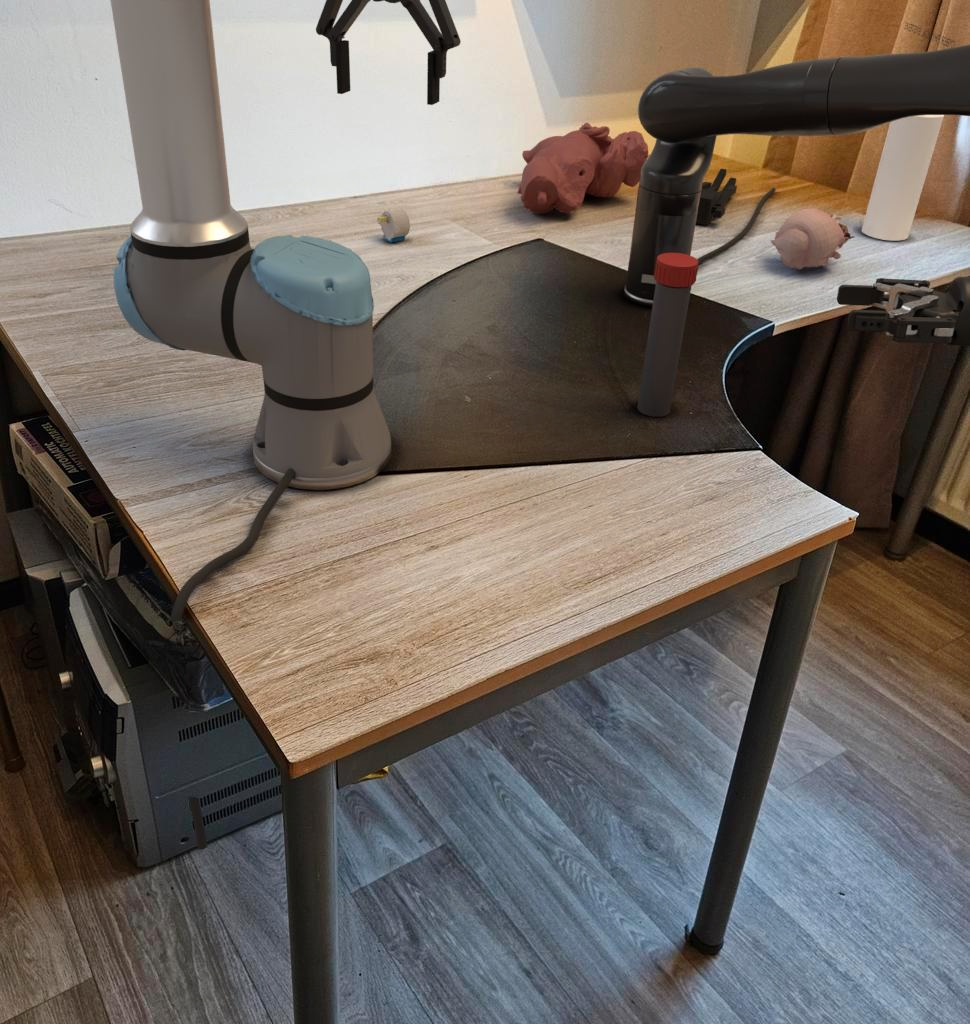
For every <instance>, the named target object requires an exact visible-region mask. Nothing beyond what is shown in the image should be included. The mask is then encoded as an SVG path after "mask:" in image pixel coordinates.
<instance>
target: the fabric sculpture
mask: <svg viewBox="0 0 970 1024" xmlns="http://www.w3.org/2000/svg"><path fill="white" fill-rule="evenodd" d="M610 130H611V129H610V127H608V126H607V125H605V126H604V125H602V126H600V127H598V126H592V125H591V124H590V123H589V122H585V123H584V124H581V126H580V127H579V129H576V130H573V131H570V132H568V133H566V134H565V135H554V136H549V137H546V138H544V139H542V140H540V141H539V142H538V143H536V145H535V146H534V147H532V148H531V149H529V150H523V151H522V153H521V156H522V158H523V160H524V162H525V163H526V164H525V166H524V168H523V170H522V172H521V173H522V174H521V180H520V181H521V182H520V185H519V186H518V189H517V194H518V195H520V200H521V202H522V203H523V207H524V209H525V210H529V211H530V212H532V213H535V214H546V213H549V212H551V211H552V210H553V209H554V208H555V209H556V210H557V211H559V212H560V213H564V214H569V213H573V212H575V211H578V209H579V208H581V206H582V203H584V199H585V195H591V196H593V197H596V198H599V197H604V198H606V197H608V198H610V197H613V196H614V195H617V194H618V192H619V191H620V189H621V186H622V184H624V185H625V186H627V187H631V188H635V187H636V186H637V185H639V180H640V173H641V168H642V166H643V164H644V163H645V161H646V160H647V159H648V157H649V146H648V143H647V142H646V141H645V139H644V135H643V134H642V132H638V131H636V130H631V131H628V132H627V131H624V132H621V133H618V135H617V136H615V137H614V138H612V137H611V136H610V135H609V134H610Z"/></svg>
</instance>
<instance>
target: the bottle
mask: <svg viewBox="0 0 970 1024" xmlns="http://www.w3.org/2000/svg"><path fill="white" fill-rule="evenodd" d="M692 287H693V285H691V286H688V287H671V286H666V285H663V284H660V283H658V282H657V281H656V287H655V293H654V300H653V307H651V314H650V320H649V328H648V333H647V341H646V348H645V353H644V359H643V366H642V367H643V368H642V374H641V381H640V387H639V394H638V400H637V406H636V407H637V410H638V412H640V413H641V414H642V415H644V416H648V417H654V418H661V417H666V416H667V415H669V414H670V412H671V408H672V403H673V402H672V401H673V397H674V390H675V384H676V379H677V374H678V373H677V372H678V369H679V362H680V355H681V349H682V344H683V338H684V332H685V327H686V320H687V314H688V310H689V302H690V297H691V291H692Z"/></svg>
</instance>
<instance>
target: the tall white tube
mask: <svg viewBox="0 0 970 1024" xmlns="http://www.w3.org/2000/svg"><path fill="white" fill-rule="evenodd" d="M904 30H905V31H907V32H910V33H912V32H913V34H915V33H916V34H917V35H918V36H921V37H923V38H924V37H925V39H928V40H930V41H931V40H932V41H933V42H937V40H938V44H939V43H940V44H942V45H943V46H946V47H947V48H948V47H949V48H953V46H955V45H956V40H954V39H951V38H948V37H946V36H942V37H941V34H938V35H937V33H934V32H933V31H931V30H926V29H923V34H921V31H922V27H920V26H918V25H915V24H912V23H909V22H908V21H907V22H905V26H904ZM927 33H928V35H927ZM940 37H941V38H940ZM940 39H941V42H940ZM945 39H946V40H945ZM944 42H945V43H944ZM952 43H954V44H953V46H952ZM944 117H945V115H920V116H912V117H907V118H902V119H899V120H896V121H893V122H890V123H889V126H888V129H887V133H886V137H885V140H884V145H883V148H882V151H881V155H880V159H879V163H878V166H877V170H876V174H875V177H874V182H873V185H872V189H871V193H870V196H869V201H868V203H867V208H866V212H865V215H864V220H863V222H862V227H861V232H862V233H863V234H864V235H866V236H868V237H871V238H873V239H878V240H884V241H893V242H895V241H897V242H898V241H899V242H900V241H905V240H907V239H909V236H910V233H911V229H912V226H913V222H914V219H915V215H916V211H917V210H918V209H917V208H918V206H919V202H920V198H921V195H922V191H923V188H924V184H925V182H926V178H927V175H928V171H929V169H930V165H931V161H932V158H933V155H934V151H935V148H936V145H937V142H938V141H937V140H938V138H939V134H940V130H941V127H942V124H943V121H944Z"/></svg>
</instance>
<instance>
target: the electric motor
mask: <svg viewBox="0 0 970 1024" xmlns="http://www.w3.org/2000/svg"><path fill="white" fill-rule="evenodd" d="M376 222H377V224H378V225H380V227H381V231H382V233H383V238H384V240H385V241H388V242H389V243H394V242H395V243H396V242H399V241H404V240H405V238H406V236H407V235H409V233H410V229H411V222H410V218H409V216H408V213H407V212H406V210H404V209H403V208H397V209H392V210H387V211H384V212H383V213H382V214H381V216H378V217H377V218H376Z"/></svg>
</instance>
